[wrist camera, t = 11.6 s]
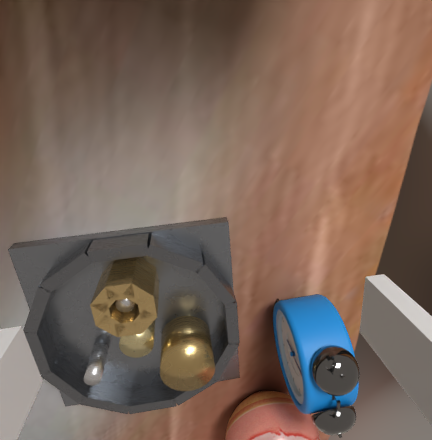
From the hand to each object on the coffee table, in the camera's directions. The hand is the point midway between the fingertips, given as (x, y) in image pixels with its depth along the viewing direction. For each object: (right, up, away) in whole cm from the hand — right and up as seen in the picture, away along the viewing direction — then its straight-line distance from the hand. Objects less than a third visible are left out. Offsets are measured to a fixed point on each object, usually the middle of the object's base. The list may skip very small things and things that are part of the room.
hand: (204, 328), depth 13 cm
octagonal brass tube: (-10, -3, +27) cm, 29 cm away
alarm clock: (+12, -10, +35) cm, 38 cm away
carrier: (-10, -9, +31) cm, 34 cm away
